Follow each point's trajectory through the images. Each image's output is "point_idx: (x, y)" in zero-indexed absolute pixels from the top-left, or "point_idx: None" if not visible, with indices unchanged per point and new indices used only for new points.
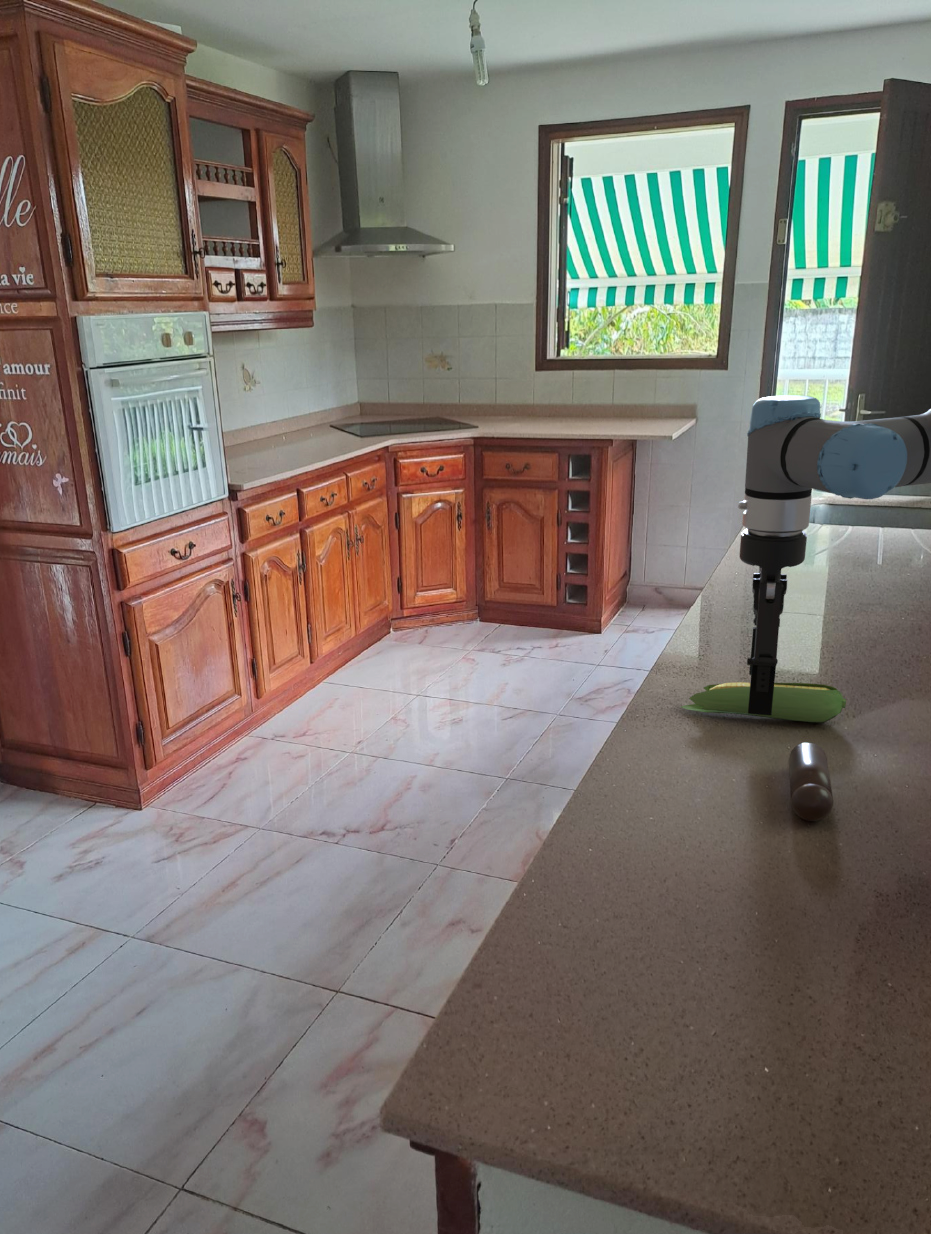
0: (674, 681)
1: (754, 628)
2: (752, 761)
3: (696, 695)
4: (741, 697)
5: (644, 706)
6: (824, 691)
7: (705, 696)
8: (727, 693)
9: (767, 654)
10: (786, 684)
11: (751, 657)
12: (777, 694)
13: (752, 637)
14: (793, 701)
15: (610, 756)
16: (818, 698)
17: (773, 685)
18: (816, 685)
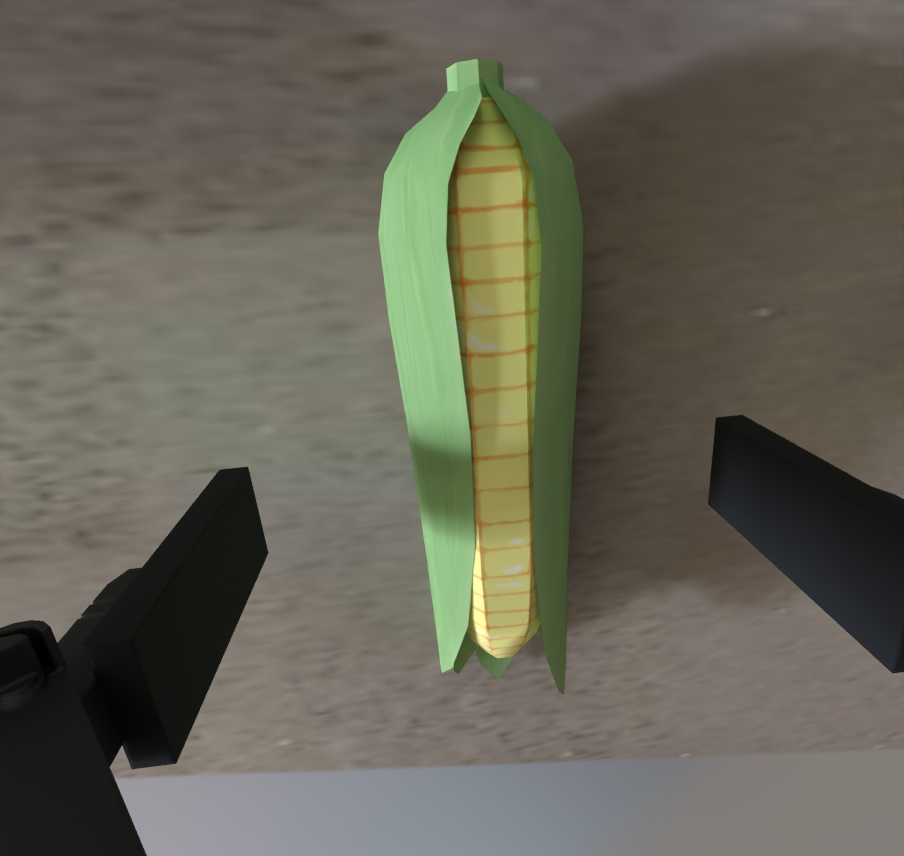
0: (234, 728)
1: (160, 757)
2: (887, 417)
3: (560, 683)
4: (565, 545)
5: (491, 753)
6: (542, 187)
7: (562, 656)
8: (558, 601)
9: (213, 549)
10: (448, 392)
11: (241, 606)
12: (559, 418)
13: (200, 705)
14: (575, 338)
15: (859, 745)
16: (568, 218)
17: (849, 477)
18: (428, 237)
